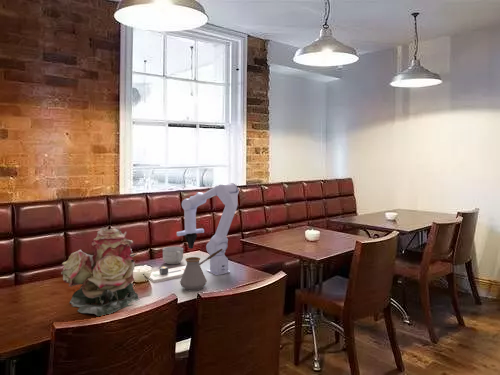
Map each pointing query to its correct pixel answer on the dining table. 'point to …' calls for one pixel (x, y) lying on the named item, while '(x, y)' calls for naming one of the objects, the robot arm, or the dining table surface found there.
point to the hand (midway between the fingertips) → (190, 248)
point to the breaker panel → (171, 274)
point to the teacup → (173, 255)
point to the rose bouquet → (102, 274)
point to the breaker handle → (163, 270)
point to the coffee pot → (194, 274)
